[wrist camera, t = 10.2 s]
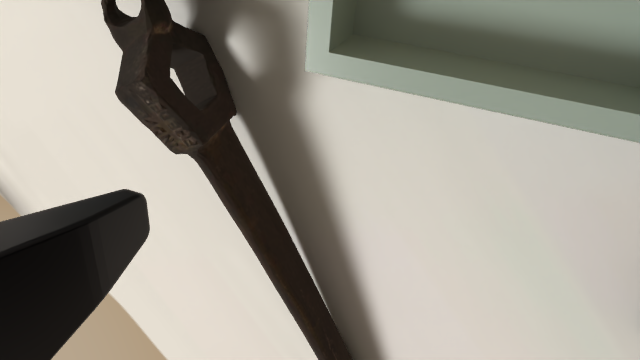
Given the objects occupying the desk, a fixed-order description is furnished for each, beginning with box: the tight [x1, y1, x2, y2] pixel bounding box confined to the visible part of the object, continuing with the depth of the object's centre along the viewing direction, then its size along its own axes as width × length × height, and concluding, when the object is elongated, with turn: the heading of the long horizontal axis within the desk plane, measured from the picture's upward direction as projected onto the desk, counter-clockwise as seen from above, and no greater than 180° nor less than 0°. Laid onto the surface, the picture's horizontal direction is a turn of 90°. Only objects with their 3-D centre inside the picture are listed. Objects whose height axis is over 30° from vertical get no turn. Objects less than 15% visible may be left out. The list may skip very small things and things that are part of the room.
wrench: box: [101, 0, 352, 360], centre depth 26 cm, size 5×5×30 cm
